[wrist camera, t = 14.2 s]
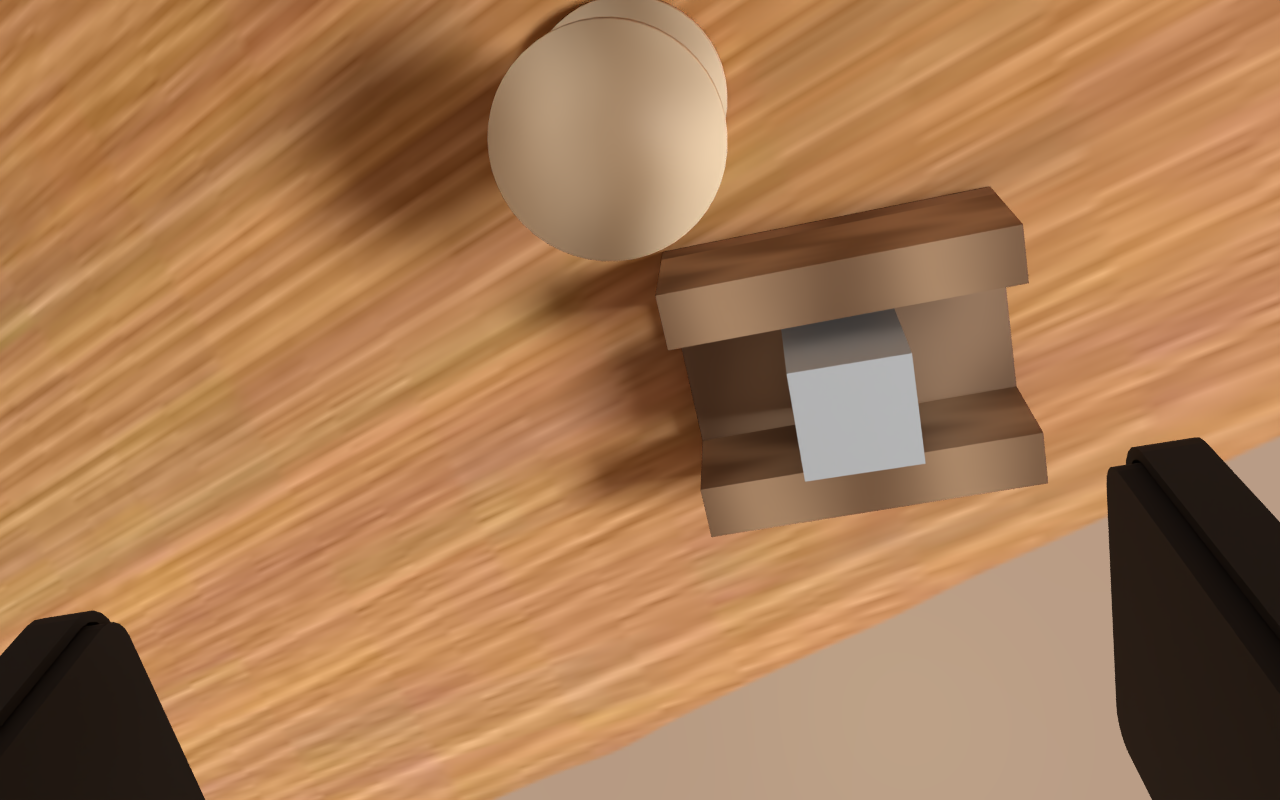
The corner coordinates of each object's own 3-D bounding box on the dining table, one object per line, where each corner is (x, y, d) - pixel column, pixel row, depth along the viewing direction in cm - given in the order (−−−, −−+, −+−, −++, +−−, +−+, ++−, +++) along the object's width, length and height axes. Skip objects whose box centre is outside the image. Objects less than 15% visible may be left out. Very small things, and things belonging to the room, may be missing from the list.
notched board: (712, 473, 46) (711, 537, 42) (662, 252, 43) (655, 295, 38) (1015, 422, 45) (1047, 483, 40) (990, 186, 41) (1022, 224, 36)
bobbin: (557, 213, 42) (522, 281, 35) (507, 19, 40) (458, 50, 32) (743, 174, 41) (747, 236, 34) (705, -28, 39) (700, -7, 31)
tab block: (778, 310, 42) (786, 373, 37) (887, 292, 42) (912, 353, 36) (795, 407, 44) (805, 481, 38) (900, 390, 43) (925, 463, 38)
